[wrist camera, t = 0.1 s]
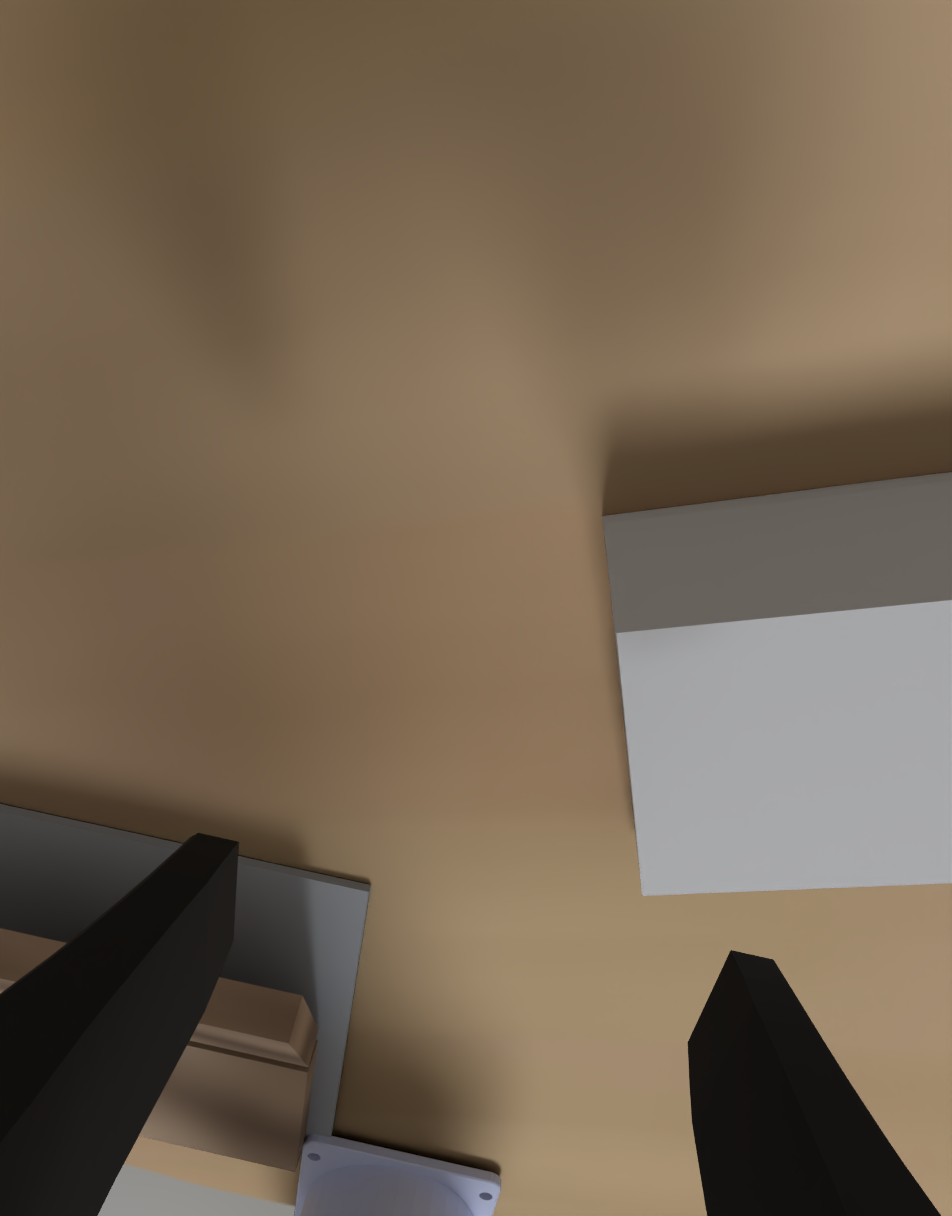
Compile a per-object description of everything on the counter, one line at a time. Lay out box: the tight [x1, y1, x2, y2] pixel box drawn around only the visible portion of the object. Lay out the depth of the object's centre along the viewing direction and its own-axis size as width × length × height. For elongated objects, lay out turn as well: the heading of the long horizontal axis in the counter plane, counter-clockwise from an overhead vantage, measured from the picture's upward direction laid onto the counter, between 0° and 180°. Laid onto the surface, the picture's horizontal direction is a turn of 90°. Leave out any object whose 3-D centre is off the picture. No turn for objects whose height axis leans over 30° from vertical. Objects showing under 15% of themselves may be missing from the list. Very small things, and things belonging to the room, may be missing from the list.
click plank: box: [0, 928, 319, 1067], centre depth 24 cm, size 7×14×1 cm, turn 80°
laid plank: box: [139, 1040, 318, 1172], centre depth 29 cm, size 6×14×1 cm, turn 80°
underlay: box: [0, 804, 371, 1138], centre depth 28 cm, size 14×16×1 cm
